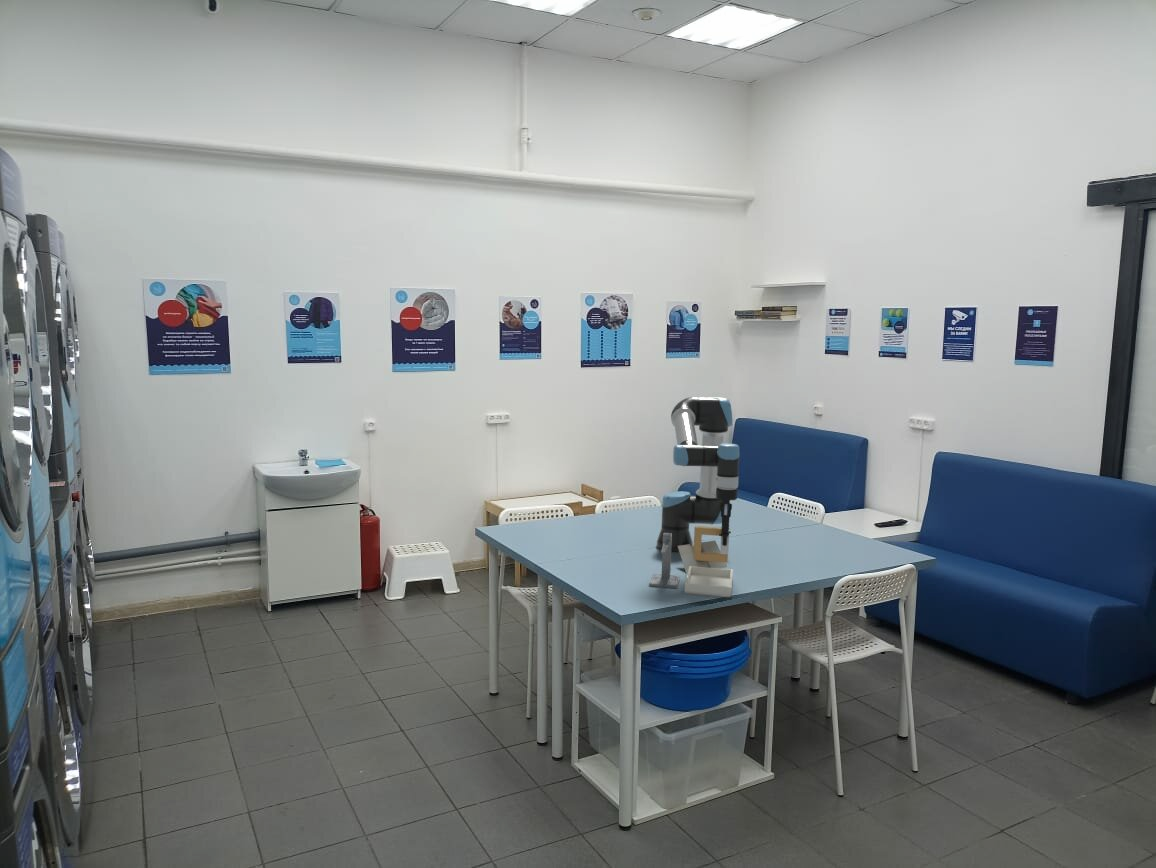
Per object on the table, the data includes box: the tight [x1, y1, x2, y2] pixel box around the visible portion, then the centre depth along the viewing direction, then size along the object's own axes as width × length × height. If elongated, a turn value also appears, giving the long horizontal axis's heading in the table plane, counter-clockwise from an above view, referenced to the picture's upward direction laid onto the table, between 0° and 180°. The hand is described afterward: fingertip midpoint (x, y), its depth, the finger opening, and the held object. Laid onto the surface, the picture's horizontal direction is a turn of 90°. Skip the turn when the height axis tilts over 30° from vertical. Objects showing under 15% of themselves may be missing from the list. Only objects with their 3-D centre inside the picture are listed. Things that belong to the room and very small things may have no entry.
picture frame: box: [693, 525, 729, 564], centre depth 290 cm, size 2×12×12 cm, turn 78°
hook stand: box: [648, 533, 681, 589], centre depth 292 cm, size 16×10×17 cm, turn 168°
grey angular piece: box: [678, 540, 728, 574], centre depth 315 cm, size 16×9×15 cm
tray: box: [684, 566, 734, 598], centre depth 291 cm, size 22×16×4 cm
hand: (724, 552), depth 289 cm, fingers closed on picture frame, 2 cm apart
